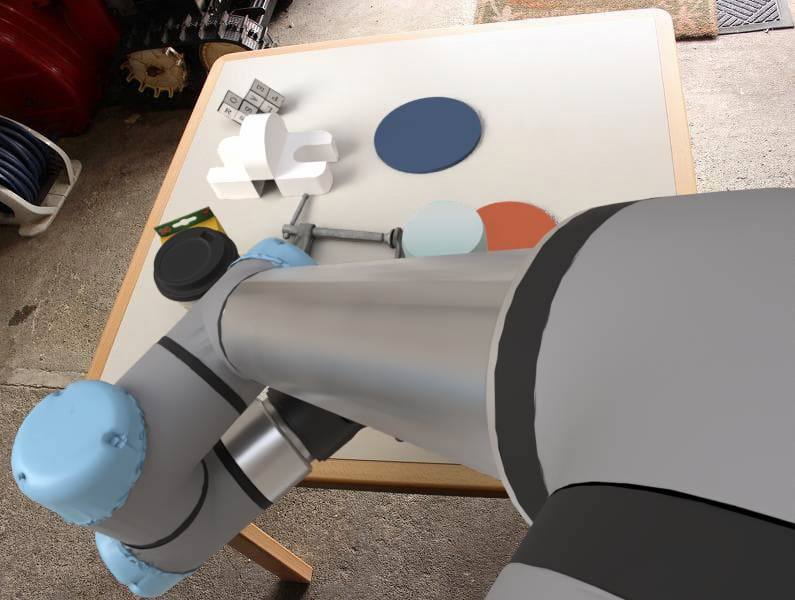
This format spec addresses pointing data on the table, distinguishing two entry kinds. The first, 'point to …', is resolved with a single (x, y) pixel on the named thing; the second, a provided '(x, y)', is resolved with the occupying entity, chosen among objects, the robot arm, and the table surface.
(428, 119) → the slate-blue mat
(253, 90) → the building blocks
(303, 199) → the c clamp
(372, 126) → the table surface
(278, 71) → the table surface
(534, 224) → the terracotta mat
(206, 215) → the crayon box
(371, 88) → the table surface
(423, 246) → the pale blue cylinder
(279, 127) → the u-slot mount
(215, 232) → the coffee cup
